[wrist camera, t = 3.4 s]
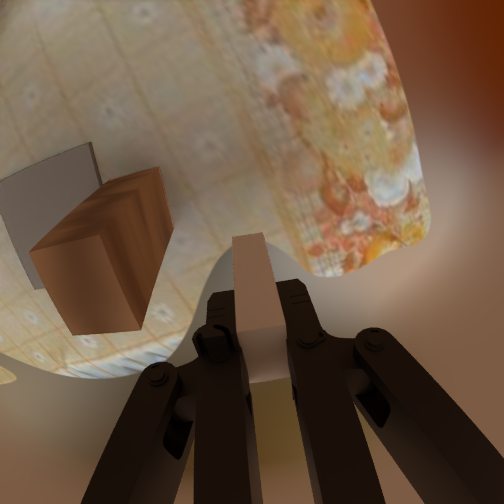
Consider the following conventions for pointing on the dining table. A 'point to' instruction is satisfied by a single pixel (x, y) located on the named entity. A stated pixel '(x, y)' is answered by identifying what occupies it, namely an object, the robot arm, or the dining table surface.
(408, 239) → the dining table surface
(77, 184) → the mat
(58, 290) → the walnut block
